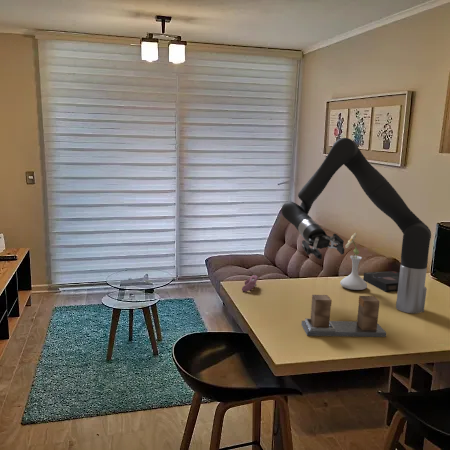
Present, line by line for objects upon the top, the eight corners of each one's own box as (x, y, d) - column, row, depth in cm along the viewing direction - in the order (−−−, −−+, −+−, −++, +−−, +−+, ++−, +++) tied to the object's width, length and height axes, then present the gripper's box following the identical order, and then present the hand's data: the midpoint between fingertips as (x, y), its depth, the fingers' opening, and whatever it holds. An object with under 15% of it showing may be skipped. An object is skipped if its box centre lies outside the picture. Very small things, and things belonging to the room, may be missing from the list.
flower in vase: (345, 282, 209) (350, 227, 205) (370, 287, 203) (376, 231, 198) (334, 289, 199) (339, 231, 194) (360, 295, 192) (365, 236, 188)
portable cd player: (385, 293, 198) (386, 284, 197) (363, 281, 214) (363, 272, 213) (418, 291, 202) (419, 282, 202) (393, 279, 218) (394, 271, 218)
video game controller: (250, 296, 191) (258, 282, 189) (240, 290, 191) (248, 276, 189) (253, 288, 200) (261, 275, 198) (243, 283, 200) (251, 270, 199)
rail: (375, 325, 161) (376, 319, 160) (385, 336, 152) (386, 329, 152) (301, 324, 159) (301, 317, 159) (307, 335, 151) (307, 328, 150)
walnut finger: (325, 323, 158) (328, 294, 156) (329, 329, 153) (332, 300, 151) (310, 322, 157) (312, 294, 156) (313, 328, 153) (316, 299, 151)
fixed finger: (371, 324, 159) (374, 296, 157) (376, 330, 154) (379, 301, 152) (355, 323, 158) (358, 295, 156) (360, 329, 153) (363, 300, 151)
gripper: (294, 227, 173) (313, 249, 159) (329, 220, 176) (351, 241, 162) (294, 244, 176) (312, 267, 163) (328, 236, 180) (349, 259, 166)
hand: (332, 254), depth 163 cm, fingers open, 8 cm apart
